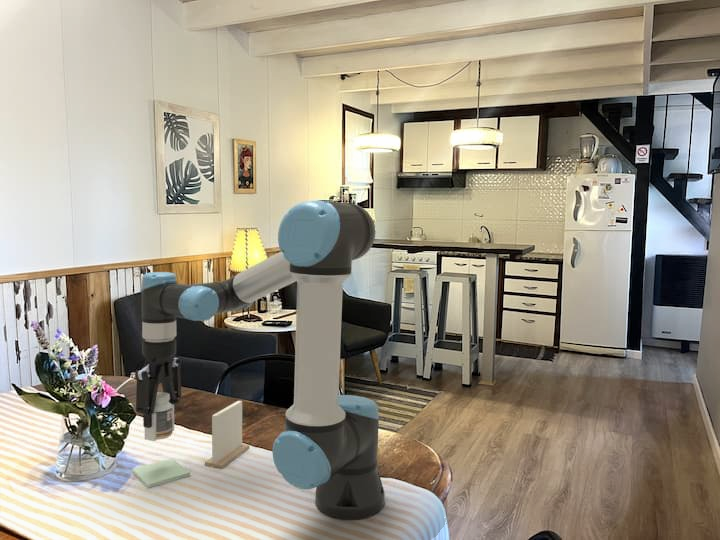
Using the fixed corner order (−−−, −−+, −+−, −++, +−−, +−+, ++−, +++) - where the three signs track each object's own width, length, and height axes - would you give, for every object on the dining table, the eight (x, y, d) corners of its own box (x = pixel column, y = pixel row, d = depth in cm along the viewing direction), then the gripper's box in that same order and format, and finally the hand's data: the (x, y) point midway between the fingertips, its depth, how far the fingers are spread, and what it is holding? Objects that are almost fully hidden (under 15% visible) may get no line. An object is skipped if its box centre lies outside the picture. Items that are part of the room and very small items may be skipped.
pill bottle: (176, 432, 134) (176, 392, 133) (166, 441, 129) (165, 399, 128) (153, 430, 135) (153, 390, 134) (142, 439, 129) (142, 398, 128)
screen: (233, 445, 150) (233, 399, 149) (249, 448, 148) (249, 401, 147) (204, 465, 138) (204, 415, 137) (221, 468, 136) (221, 417, 135)
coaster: (189, 475, 132) (189, 472, 132) (147, 488, 126) (147, 484, 126) (173, 461, 140) (173, 457, 140) (132, 472, 133) (132, 469, 133)
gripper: (171, 329, 140) (172, 419, 142) (116, 345, 122) (117, 447, 124) (197, 332, 137) (197, 423, 139) (144, 349, 120) (145, 452, 122)
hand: (159, 434), depth 132 cm, fingers closed on pill bottle, 6 cm apart
